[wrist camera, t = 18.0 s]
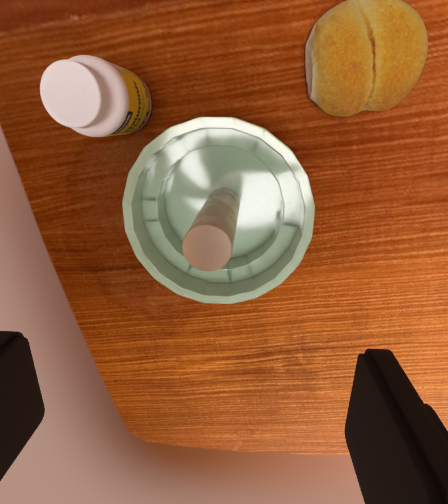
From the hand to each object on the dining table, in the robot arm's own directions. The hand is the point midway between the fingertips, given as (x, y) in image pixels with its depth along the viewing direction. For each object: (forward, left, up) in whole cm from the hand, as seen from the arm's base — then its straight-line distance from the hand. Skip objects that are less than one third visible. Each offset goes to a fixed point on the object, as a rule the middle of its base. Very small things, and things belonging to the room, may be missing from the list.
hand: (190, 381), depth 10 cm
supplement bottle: (-10, +8, -25) cm, 28 cm away
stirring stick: (-1, -1, -24) cm, 24 cm away
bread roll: (+10, +11, -25) cm, 29 cm away
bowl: (-1, -1, -25) cm, 25 cm away
